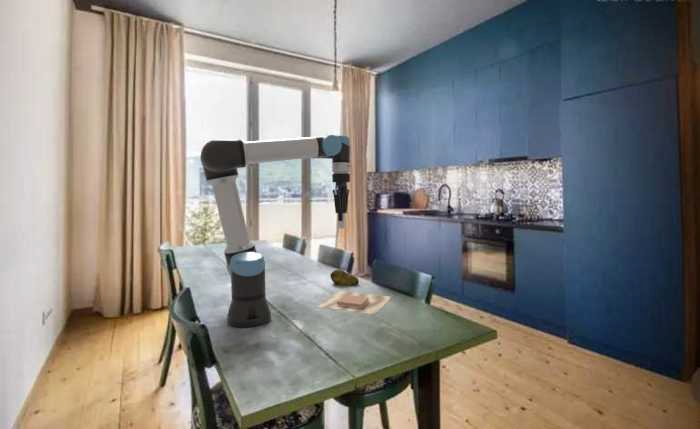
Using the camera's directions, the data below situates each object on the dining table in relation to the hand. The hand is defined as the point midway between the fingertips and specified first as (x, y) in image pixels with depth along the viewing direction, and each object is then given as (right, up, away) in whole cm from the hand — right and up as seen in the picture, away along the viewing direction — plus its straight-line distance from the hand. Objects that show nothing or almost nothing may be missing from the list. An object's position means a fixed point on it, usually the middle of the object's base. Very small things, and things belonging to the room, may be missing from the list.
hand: (341, 228), depth 154 cm
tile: (+6, -28, -9) cm, 30 cm away
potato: (+1, -29, +15) cm, 32 cm away
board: (+6, -30, -10) cm, 33 cm away
